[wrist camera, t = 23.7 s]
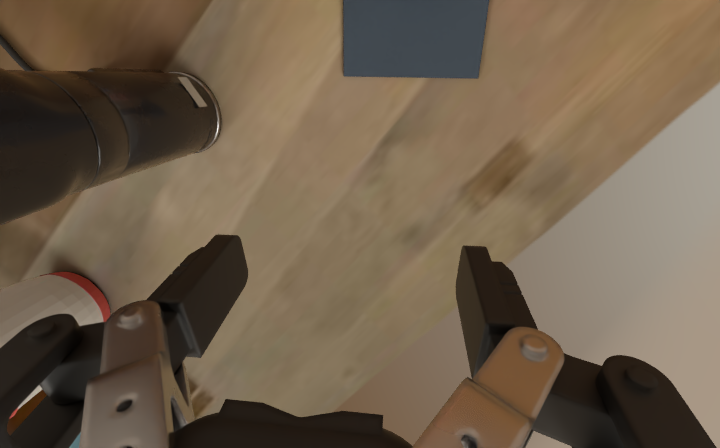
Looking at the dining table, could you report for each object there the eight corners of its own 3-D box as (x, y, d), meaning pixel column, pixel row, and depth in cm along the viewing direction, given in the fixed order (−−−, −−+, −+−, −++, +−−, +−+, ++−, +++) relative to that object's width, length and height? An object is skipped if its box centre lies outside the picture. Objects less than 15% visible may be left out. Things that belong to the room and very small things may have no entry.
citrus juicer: (14, 263, 57) (-174, 350, 39) (96, 256, 53) (-71, 348, 35) (60, 336, 63) (-85, 441, 45) (137, 334, 59) (12, 447, 41)
